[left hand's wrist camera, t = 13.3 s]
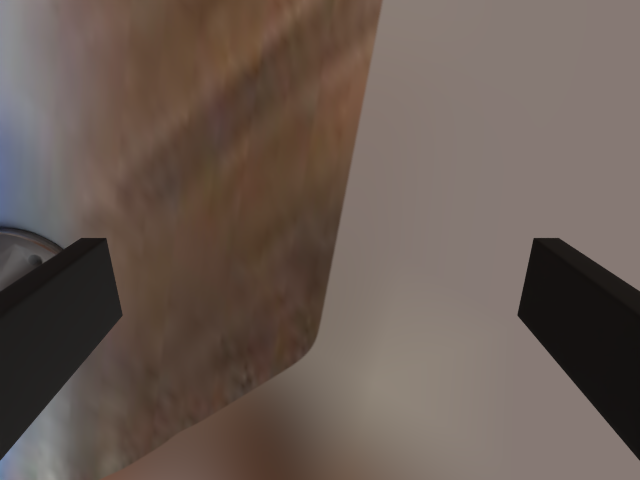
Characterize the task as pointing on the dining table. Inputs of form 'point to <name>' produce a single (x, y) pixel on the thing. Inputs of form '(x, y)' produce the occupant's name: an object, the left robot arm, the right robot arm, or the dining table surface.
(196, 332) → the dining table surface
